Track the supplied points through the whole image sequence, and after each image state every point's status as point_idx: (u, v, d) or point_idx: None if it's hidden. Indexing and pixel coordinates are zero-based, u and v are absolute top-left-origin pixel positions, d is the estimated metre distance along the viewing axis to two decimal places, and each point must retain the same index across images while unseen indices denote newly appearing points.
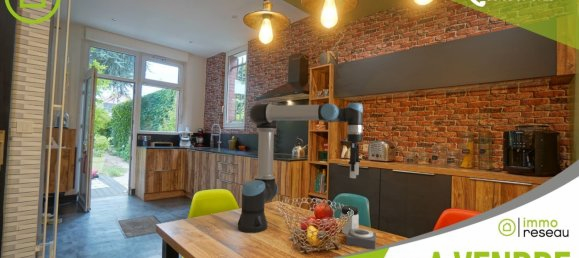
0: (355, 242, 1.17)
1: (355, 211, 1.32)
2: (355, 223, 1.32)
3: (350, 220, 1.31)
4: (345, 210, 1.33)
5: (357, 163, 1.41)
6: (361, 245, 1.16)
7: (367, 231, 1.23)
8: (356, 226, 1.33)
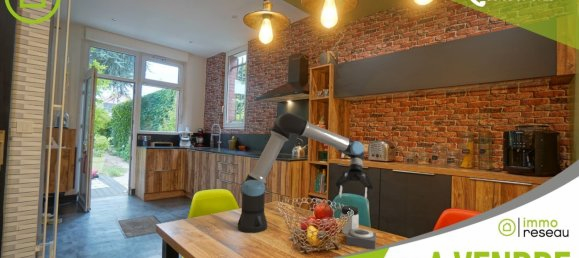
0: (355, 242, 1.17)
1: (355, 211, 1.32)
2: (355, 223, 1.32)
3: (350, 220, 1.31)
4: (345, 210, 1.33)
5: None
6: (361, 245, 1.16)
7: (367, 231, 1.23)
8: (356, 226, 1.33)
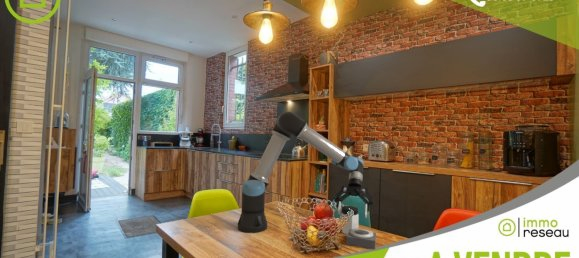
0: (355, 242, 1.17)
1: (355, 211, 1.32)
2: (355, 223, 1.32)
3: (350, 220, 1.31)
4: (345, 210, 1.33)
5: (340, 204, 1.45)
6: (361, 245, 1.16)
7: (367, 231, 1.23)
8: (356, 226, 1.33)
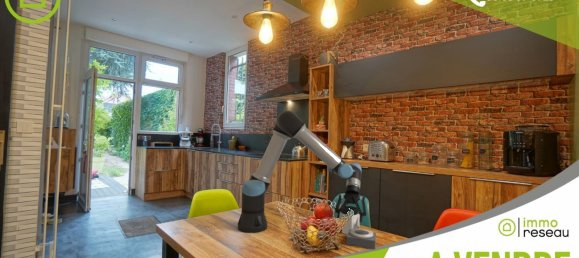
0: (355, 242, 1.17)
1: (355, 211, 1.32)
2: (355, 223, 1.32)
3: (350, 220, 1.31)
4: (345, 210, 1.33)
5: None
6: (361, 245, 1.16)
7: (367, 231, 1.23)
8: (356, 226, 1.33)
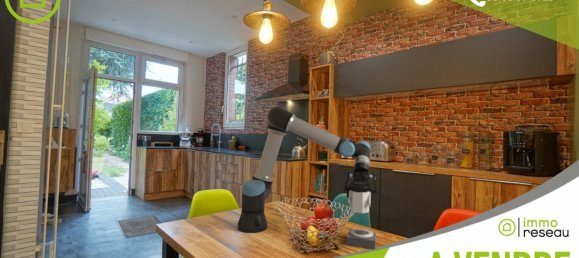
0: (355, 242, 1.17)
1: (366, 188, 1.24)
2: (366, 201, 1.23)
3: (360, 198, 1.23)
4: (355, 187, 1.24)
5: None
6: (361, 245, 1.16)
7: (367, 231, 1.23)
8: (367, 204, 1.24)
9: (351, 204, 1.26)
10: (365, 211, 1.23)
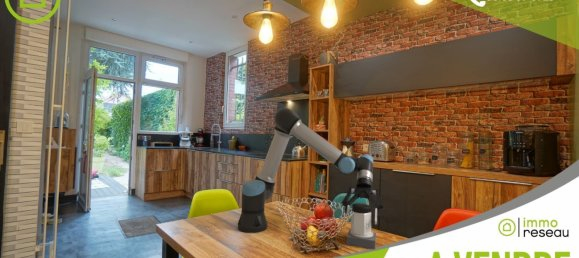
0: (355, 242, 1.17)
1: (368, 209, 1.19)
2: (367, 222, 1.19)
3: (362, 219, 1.18)
4: (356, 208, 1.19)
5: (349, 208, 1.26)
6: (361, 245, 1.16)
7: None
8: (369, 226, 1.19)
9: (352, 225, 1.21)
10: (367, 233, 1.19)
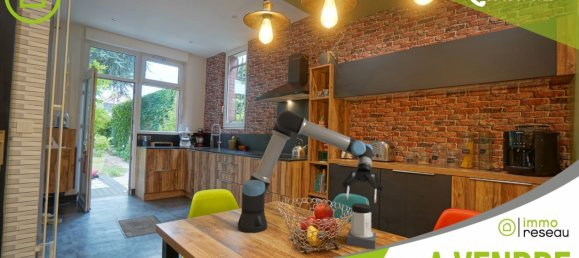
0: (355, 242, 1.17)
1: (367, 209, 1.19)
2: (367, 222, 1.19)
3: (362, 219, 1.18)
4: (356, 208, 1.19)
5: None
6: (361, 245, 1.16)
7: None
8: (369, 225, 1.19)
9: (352, 225, 1.21)
10: (367, 233, 1.19)
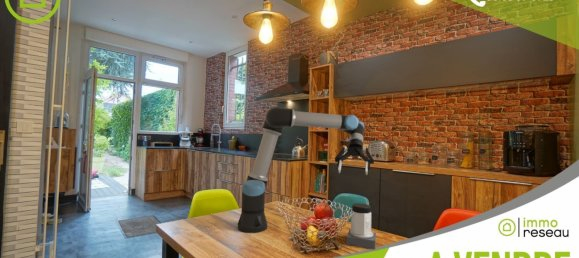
0: (355, 242, 1.17)
1: (368, 209, 1.19)
2: (367, 222, 1.19)
3: (362, 219, 1.18)
4: (357, 208, 1.19)
5: (341, 163, 1.45)
6: (361, 245, 1.16)
7: None
8: (369, 226, 1.19)
9: (352, 225, 1.21)
10: (367, 233, 1.19)
